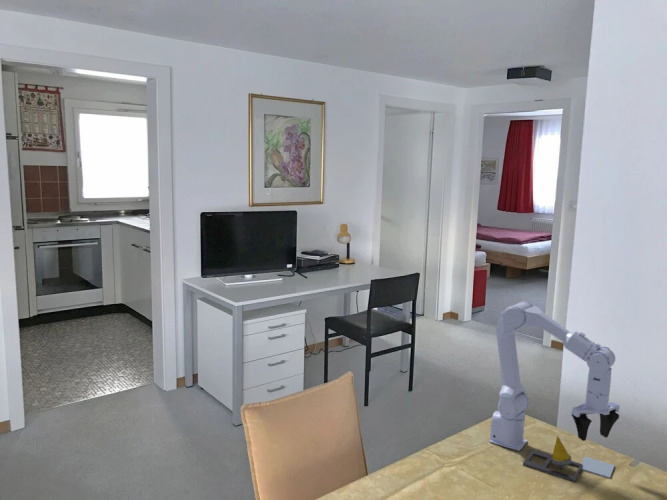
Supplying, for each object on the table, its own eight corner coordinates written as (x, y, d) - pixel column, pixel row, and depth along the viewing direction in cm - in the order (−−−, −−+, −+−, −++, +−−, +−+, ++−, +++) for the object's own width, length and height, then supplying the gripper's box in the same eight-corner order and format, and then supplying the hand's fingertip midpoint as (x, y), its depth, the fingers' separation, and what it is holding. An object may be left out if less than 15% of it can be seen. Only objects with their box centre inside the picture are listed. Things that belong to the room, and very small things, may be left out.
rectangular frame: (522, 465, 160) (522, 463, 160) (532, 451, 168) (532, 449, 168) (574, 482, 152) (574, 479, 152) (582, 466, 160) (582, 464, 160)
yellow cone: (574, 473, 156) (569, 439, 154) (554, 474, 157) (549, 441, 156) (570, 463, 161) (565, 431, 160) (551, 465, 162) (546, 432, 161)
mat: (578, 469, 159) (579, 467, 159) (584, 457, 166) (584, 456, 166) (609, 478, 155) (609, 477, 154) (614, 466, 161) (614, 465, 161)
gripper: (587, 399, 149) (582, 447, 151) (630, 394, 153) (624, 441, 155) (568, 389, 155) (564, 435, 157) (610, 384, 160) (605, 429, 162)
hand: (592, 437), depth 157 cm, fingers open, 7 cm apart
